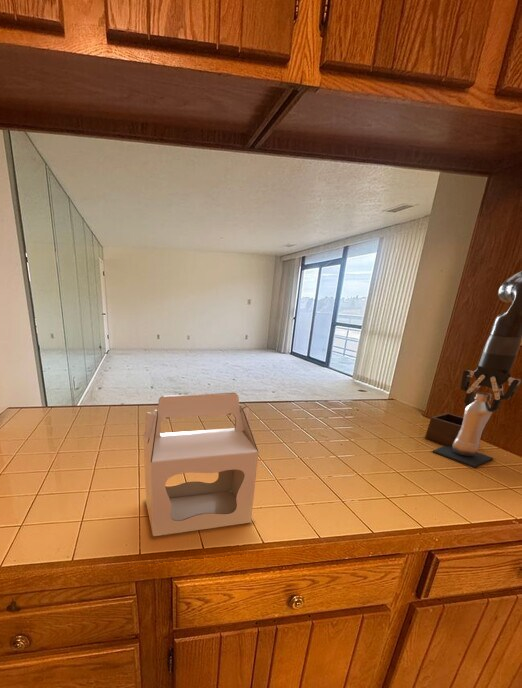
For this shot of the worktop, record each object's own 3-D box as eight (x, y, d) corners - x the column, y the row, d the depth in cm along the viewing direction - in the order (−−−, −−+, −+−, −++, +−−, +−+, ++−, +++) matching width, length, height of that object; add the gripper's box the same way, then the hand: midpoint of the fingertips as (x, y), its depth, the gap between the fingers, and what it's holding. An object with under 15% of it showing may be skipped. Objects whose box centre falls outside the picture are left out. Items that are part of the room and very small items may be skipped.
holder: (440, 433, 128) (447, 412, 125) (469, 442, 121) (477, 421, 118) (424, 438, 124) (431, 417, 120) (453, 448, 116) (461, 426, 113)
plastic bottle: (450, 447, 115) (469, 389, 107) (475, 453, 111) (497, 393, 104) (449, 454, 110) (470, 393, 102) (476, 460, 106) (499, 398, 99)
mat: (451, 445, 118) (452, 443, 118) (492, 459, 109) (493, 457, 109) (432, 452, 113) (432, 450, 113) (474, 467, 103) (474, 466, 103)
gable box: (232, 491, 88) (240, 384, 77) (252, 522, 76) (265, 401, 65) (144, 501, 83) (140, 388, 72) (151, 537, 71) (147, 408, 60)
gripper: (537, 355, 94) (514, 413, 101) (477, 347, 105) (459, 400, 112) (526, 357, 91) (502, 417, 97) (465, 348, 102) (447, 403, 108)
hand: (479, 408), depth 104 cm, fingers closed on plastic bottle, 6 cm apart
